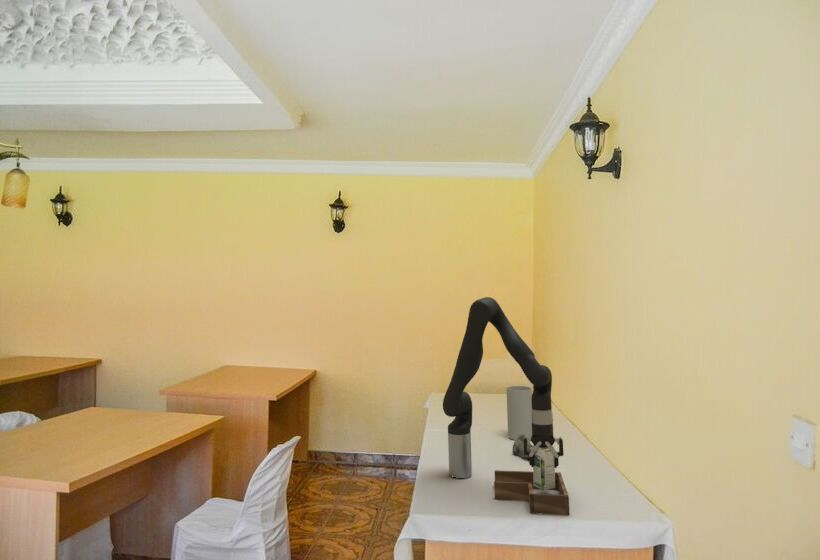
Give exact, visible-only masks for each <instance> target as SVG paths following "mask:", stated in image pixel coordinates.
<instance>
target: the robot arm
mask: <svg viewBox="0 0 820 560" xmlns="http://www.w3.org/2000/svg"><path fill="white" fill-rule="evenodd" d="M489 323H490V324H491V325H492V326H493V328H495V329H496V331H497V332H498V334H499V336H500V338H501V340H502V342H503V345H504V347H505V349H506V350H507V353H509V355H510V356H511V357H512V359H513V360H514V361H515V362H516V363H517V364H518V365H519V367H520V369H521V371H522V372H523V374H524V376H525V377H526V378H527V380H528V382H530V384H532V385H533V387H532V389H533V391H532V398H531V402H532V412H531V421H532V437H531V438H526V437H524V438H523V444H524V455H528V456H529V458H528V464H529V466H531V468H533V454H534V453H535V452H536V450H537V449H538V448H539V447H547V448H549V449H550V451H551V452H552V453H553V454H554V460H555V469H557V468H558V467H559V464H560V463H559V458H560V457H563V456H564V454H565V453H564V440H563V438H562V437H555V436H554V418H553V416H554V415H553V409H552V408H553V407H552V384H553V377H552V371H551V370H550V367H548V366H547V365H543V364H540V363H539V361H538V360H537V358H536V355H535V353H534V352H533V350H532V349H531V347H529V345H528V344H527V343H526V342H525V340H523V339H522V337H521V336H520V335H519V333H518V332H517V331H516V329H515V328H514V326H513V325H512V323H511V322H510V320H509V319H508V317H507V315H506V314H505V312H504V311H503V309H502V307H501V306H500V304H499V303H498V301H497V300H496V299H495V298H494V297H490V296H486V297H482V298H479V299H476V300H474V301H473V302H472V303H471V306H470V307H469V310H468V317H467V324H466V329H465V333H464V336H463V338H462V342H461V346H460V349H459V352H458V355H457V359H456V363H455V367H454V369H453V373H452V377H451V379H450V382H449V384H448V387H447V389H446V392H445V393H444V394H445V395H444V397H443V399H442V411H443V412H444V415H446V416H447V417H449V418H454V419H452V421H451V422H450V423H449V424H448V426H447V442H448V444H447V445H448V446H447V447H448V474H450V475H451V476H453V477H456V478H455V479H458V478H464V479H469V478H470V477H472V476H473V472H472V471H473V467H472V466H473V465H472V464H473V462H472V441H471V440H472V437H471V435H472V434H471V429H472V424H473V402H472V401H473V400H472V398H471V396H470V394H469V393H468V392H466V391H465V388H466V387H467V386H468V384H469V383H470V382H471V381H472V380H473V378H474V377H475V376H476V375H477V373H478V371H479V369H480V366H481V363H482V360H483V356H484V344H483V339H484V334H485V331H486V328H487V326H488V324H489ZM529 442H530V443H531V444H532V448H531V450H530V451H527V444H529ZM555 443H556V444H557V446H558V451H557V450H556V449H555V447H554V446H553V445H554V444H555ZM533 446H535V447H534V448H533ZM553 448H554V449H553ZM450 475H449V476H450ZM451 476H450V477H451ZM453 477H452V478H453Z"/></svg>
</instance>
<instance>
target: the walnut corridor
mask: <svg viewBox="0 0 820 560" xmlns="http://www.w3.org/2000/svg"><path fill="white" fill-rule="evenodd" d="M493 484H494V485H493V486H494V487H493V488H494V500H495V499H502V500H501V501H517V502H518V501H521V502H523V501H525V502H528V505H529V512H530V514H538V513H542V515H543V514H544V515H562V516H563V515H564V516H570V498H569V497H570V496H569V494H568V490H567V487H566V485H565V481H564V477H563V475H562V472H559V471H558V472H557V471H555V488H552V489H547V491H548V490H549V491H552V490H553V491H558V494H556V493H555V494H552V493H534V490H541V489H540V488H538V487H536V486H534V483H533V471H527V470H526V471H525V470H522V471H521V470H499V469H498V470H494V481H493Z"/></svg>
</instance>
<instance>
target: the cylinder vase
mask: <svg viewBox="0 0 820 560" xmlns="http://www.w3.org/2000/svg"><path fill="white" fill-rule="evenodd" d="M505 388H506V409H507V410H506V411H507V412H506V413H507V414H506V416H507V436H508V438H509V439H510V440H513V441H515V439H516V437H517V435H518V434H524V435H525V436H526V437H527V438H531V437H532V421H531V412H532V402H531V398H532V393H533V391H532V389H533V388H532V387H531V386H526V385H525V386H524V385H512V386H511V385H510V386H507V387H505Z"/></svg>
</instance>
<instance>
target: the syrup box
mask: <svg viewBox="0 0 820 560" xmlns="http://www.w3.org/2000/svg"><path fill="white" fill-rule="evenodd" d="M532 446H533V445H532ZM534 447H535V446H533V448H534ZM553 449H555V447H554V448H553ZM532 472H533V483H534V486H536V487H538V488H540V489H539V490H542V491H546V490H547V489H552V488H555V472H556V468H555V460H554V454H553V453H552V452H551V451H550V449H549V448H547V447H539V448H538V449H537V450H536V452H535V453H534V454H533V467H532ZM547 491H548V490H547Z"/></svg>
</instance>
